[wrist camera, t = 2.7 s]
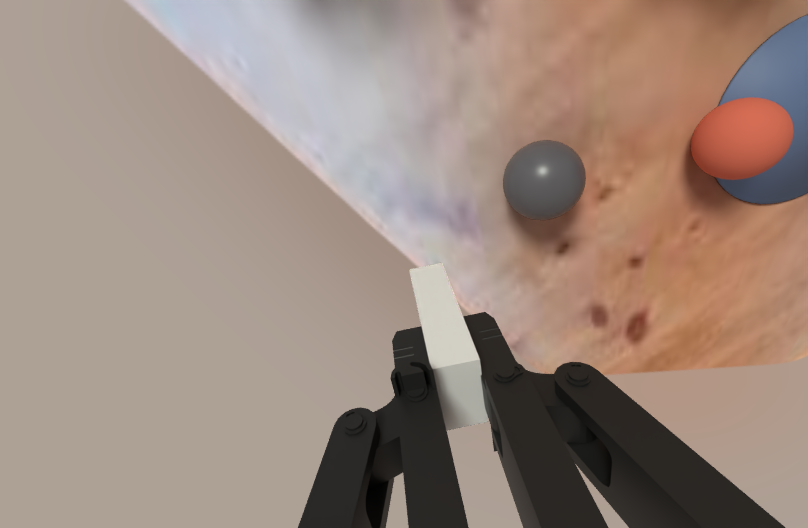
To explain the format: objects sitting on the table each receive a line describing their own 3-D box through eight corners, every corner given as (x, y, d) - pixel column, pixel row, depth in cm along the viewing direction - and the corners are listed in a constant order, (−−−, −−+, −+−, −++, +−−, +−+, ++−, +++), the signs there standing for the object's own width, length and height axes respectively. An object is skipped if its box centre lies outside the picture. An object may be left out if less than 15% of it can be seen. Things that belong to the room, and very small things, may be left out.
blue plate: (940, 50, 29) (944, 50, 29) (801, 222, 35) (803, 223, 35) (800, -30, 26) (803, -31, 26) (672, 173, 32) (674, 173, 32)
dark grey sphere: (577, 148, 30) (617, 164, 25) (543, 214, 32) (574, 241, 28) (513, 123, 29) (542, 136, 24) (482, 194, 31) (503, 218, 26)
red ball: (760, 109, 30) (837, 118, 25) (714, 178, 32) (776, 199, 27) (703, 83, 29) (772, 87, 24) (659, 156, 31) (713, 174, 26)
